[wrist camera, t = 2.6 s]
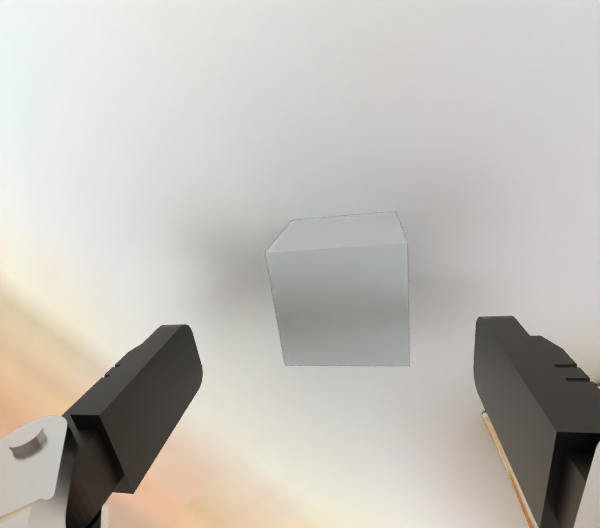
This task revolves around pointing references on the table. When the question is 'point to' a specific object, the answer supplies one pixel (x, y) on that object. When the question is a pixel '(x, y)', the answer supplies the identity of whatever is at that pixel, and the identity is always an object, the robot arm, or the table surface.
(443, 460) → the table surface
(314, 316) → the blue-grey cube
